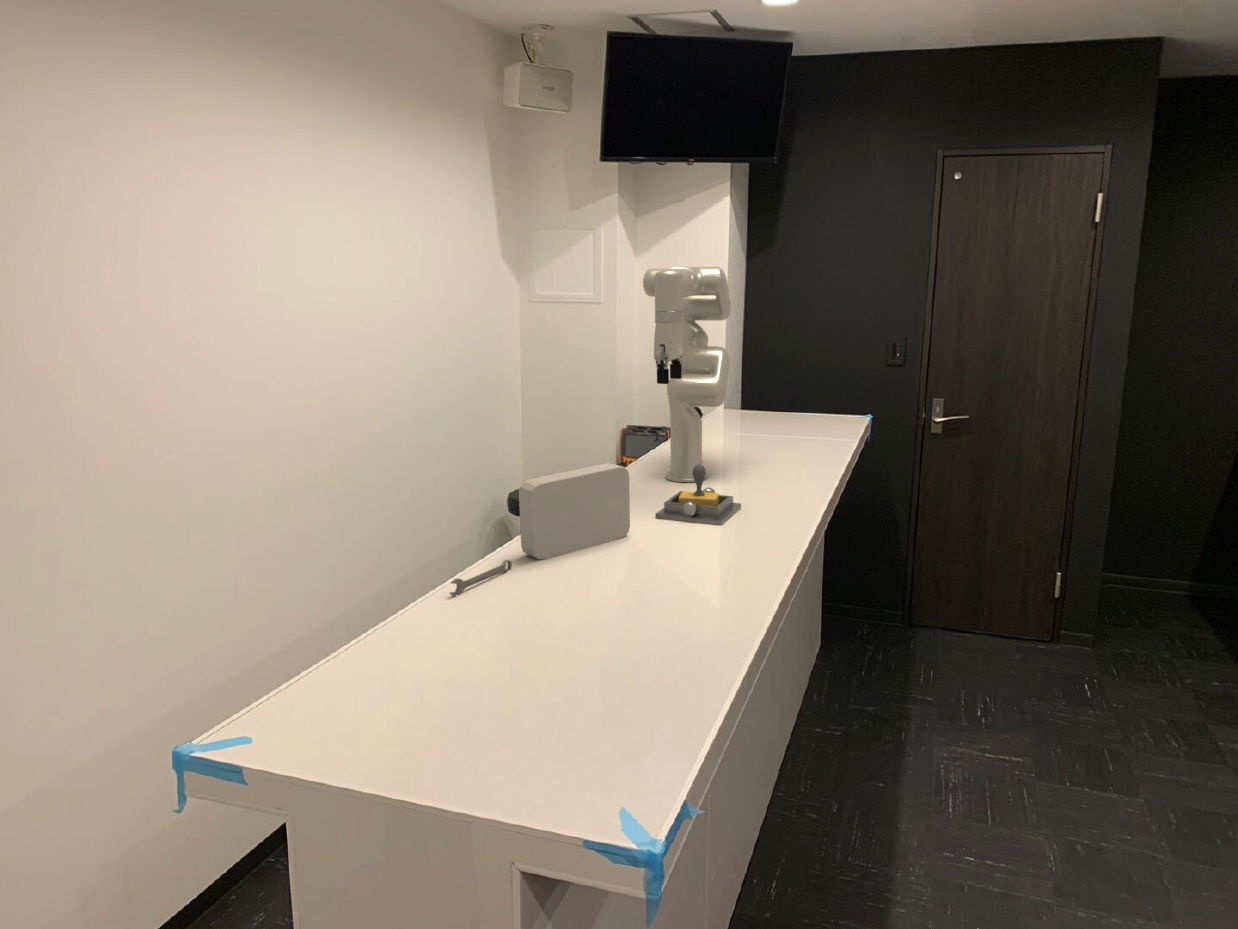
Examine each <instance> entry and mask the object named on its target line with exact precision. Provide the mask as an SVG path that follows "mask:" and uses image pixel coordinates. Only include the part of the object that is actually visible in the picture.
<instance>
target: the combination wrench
mask: <svg viewBox="0 0 1238 929" xmlns="http://www.w3.org/2000/svg"><path fill="white" fill-rule="evenodd" d="M512 564H513V563H512V561H511V560H510V559H504V560H503V561H502V563H501V564H500V565H498V566H496V567H493V568H491V569H488V570H486V571H484V572H482V573H480V574H477V575H475V576H472V577H471V578H468V579H466V580H463V579H462V578H454V579H453V580H452V581H451V582H450V584H453V585H454V584H455V585H456V588H455V590H454V591H452V592H449V593H448V594H449V595H451V596H452V597H455V596H456V595H458V596H460V595H459V594H461V595H462V594H463V591H465V590H466V588H468V587H471V586H473V585H475V584H478V583H480V582H483V581H485V580H487V579H489V578H492V577H495V576H497V575H499V574H502V573H508V572H507V571H506V570H510V571H511V570H512V566H513V565H512ZM506 566H507V567H506ZM506 568H507V569H506ZM456 597H457V596H456Z"/></svg>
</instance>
